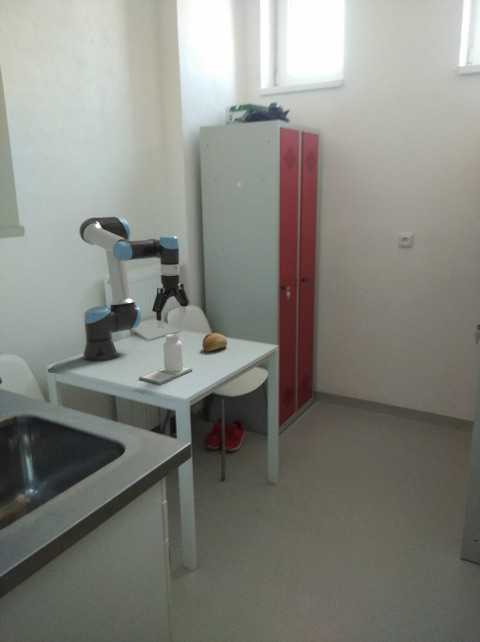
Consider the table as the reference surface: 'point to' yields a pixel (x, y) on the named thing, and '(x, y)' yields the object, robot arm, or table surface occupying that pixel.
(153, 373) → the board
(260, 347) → the table surface
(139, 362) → the table surface
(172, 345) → the pill bottle
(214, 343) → the bread roll
